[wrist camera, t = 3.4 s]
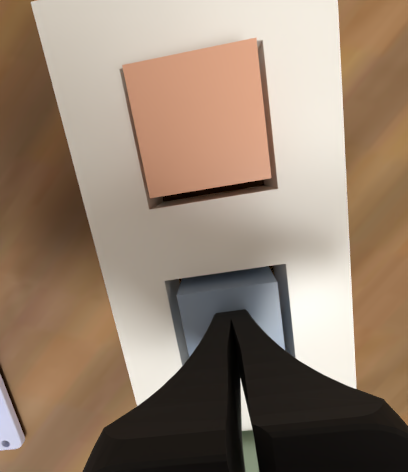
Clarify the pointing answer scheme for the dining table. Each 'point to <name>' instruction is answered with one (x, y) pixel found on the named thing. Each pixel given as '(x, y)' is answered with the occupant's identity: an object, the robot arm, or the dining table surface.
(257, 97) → the terracotta button
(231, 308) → the slate-blue button
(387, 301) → the dining table surface
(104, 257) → the button panel
